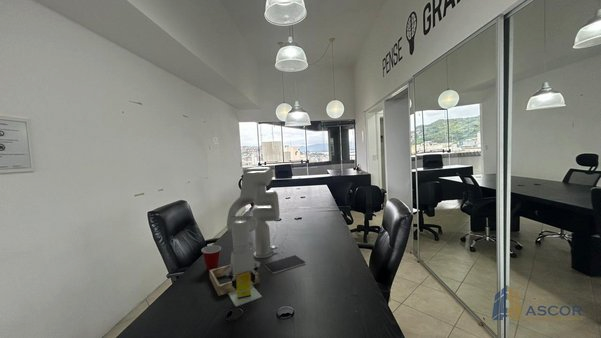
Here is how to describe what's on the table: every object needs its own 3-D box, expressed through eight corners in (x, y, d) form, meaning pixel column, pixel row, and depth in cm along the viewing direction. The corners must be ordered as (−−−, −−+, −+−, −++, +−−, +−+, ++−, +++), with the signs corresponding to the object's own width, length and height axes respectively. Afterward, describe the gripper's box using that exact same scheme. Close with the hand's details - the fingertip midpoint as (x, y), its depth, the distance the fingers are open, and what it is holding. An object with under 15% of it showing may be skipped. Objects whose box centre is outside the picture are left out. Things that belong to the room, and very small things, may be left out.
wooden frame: (246, 268, 140) (245, 260, 140) (259, 282, 123) (258, 273, 123) (209, 278, 130) (209, 270, 130) (218, 295, 113) (218, 286, 113)
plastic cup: (216, 273, 136) (214, 252, 135) (198, 272, 138) (197, 251, 137) (225, 264, 146) (224, 245, 146) (209, 263, 149) (208, 244, 148)
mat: (252, 285, 120) (252, 285, 120) (261, 297, 110) (261, 296, 110) (228, 293, 114) (228, 293, 114) (235, 306, 104) (235, 305, 104)
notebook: (295, 257, 153) (263, 266, 143) (295, 255, 153) (263, 264, 142) (306, 264, 142) (272, 275, 132) (305, 262, 142) (272, 272, 132)
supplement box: (237, 292, 114) (235, 269, 114) (250, 289, 116) (248, 267, 115) (237, 299, 109) (235, 275, 108) (251, 296, 110) (249, 273, 110)
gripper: (256, 240, 119) (258, 275, 120) (220, 249, 110) (222, 287, 111) (262, 245, 112) (264, 282, 113) (224, 254, 103) (227, 294, 104)
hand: (244, 284), depth 112 cm, fingers open, 8 cm apart
